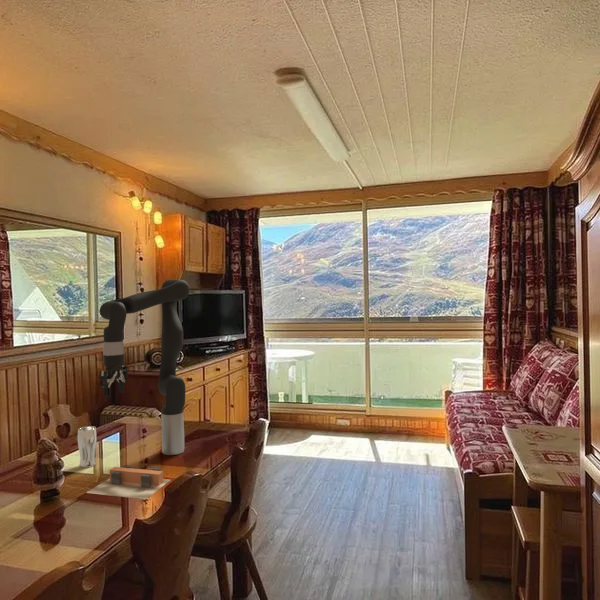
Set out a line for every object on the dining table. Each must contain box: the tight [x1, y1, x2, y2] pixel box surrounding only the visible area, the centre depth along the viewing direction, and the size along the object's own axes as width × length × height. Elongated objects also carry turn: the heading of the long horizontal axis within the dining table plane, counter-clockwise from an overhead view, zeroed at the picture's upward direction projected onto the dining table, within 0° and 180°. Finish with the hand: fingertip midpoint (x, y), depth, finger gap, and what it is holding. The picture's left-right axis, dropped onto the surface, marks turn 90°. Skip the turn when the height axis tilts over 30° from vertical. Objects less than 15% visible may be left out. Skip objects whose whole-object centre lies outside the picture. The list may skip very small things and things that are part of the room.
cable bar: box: [109, 466, 164, 486], centre depth 171 cm, size 3×20×4 cm, turn 75°
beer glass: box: [77, 425, 97, 469], centre depth 191 cm, size 7×7×15 cm
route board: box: [86, 464, 171, 500], centre depth 167 cm, size 17×23×5 cm
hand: (114, 394), depth 182 cm, fingers open, 8 cm apart
